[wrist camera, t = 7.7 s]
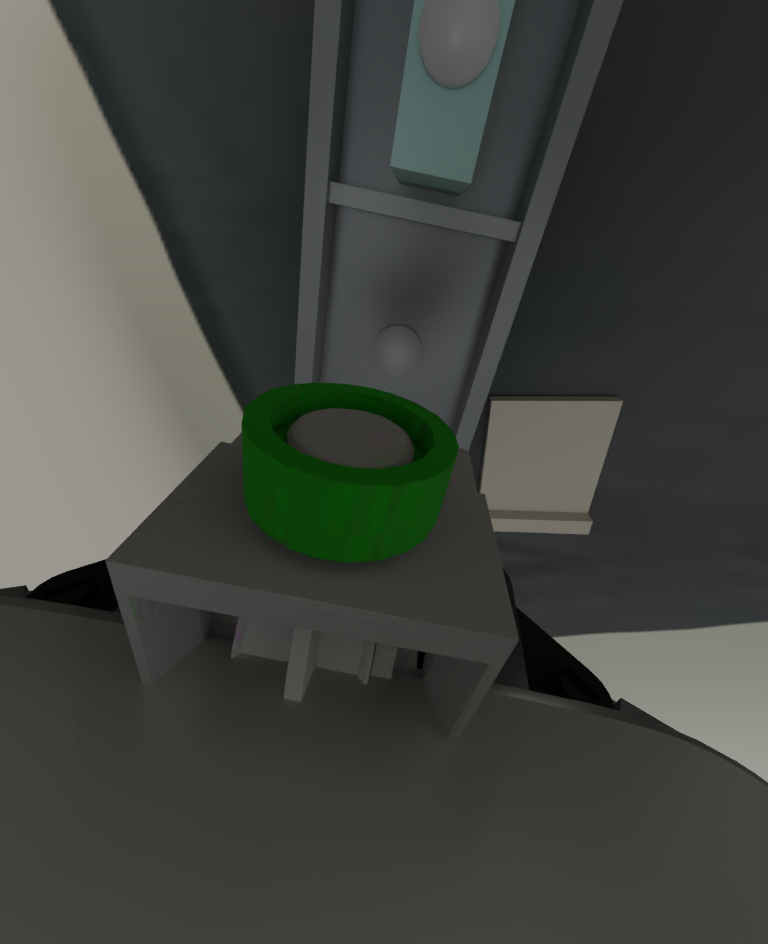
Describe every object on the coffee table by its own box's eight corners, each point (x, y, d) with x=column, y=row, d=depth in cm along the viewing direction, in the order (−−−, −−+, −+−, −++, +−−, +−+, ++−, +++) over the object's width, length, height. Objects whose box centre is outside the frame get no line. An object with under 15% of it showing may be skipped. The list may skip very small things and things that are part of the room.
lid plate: (489, 396, 25) (494, 406, 24) (617, 396, 25) (630, 407, 23) (475, 515, 31) (478, 530, 29) (580, 518, 30) (588, 534, 28)
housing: (345, -121, 15) (285, -388, 8) (620, -58, 15) (764, -271, 9) (305, 427, 28) (269, 486, 21) (453, 457, 28) (462, 525, 22)
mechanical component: (319, 546, 16) (199, 903, 7) (351, 273, 10) (38, 450, 2) (389, 560, 16) (351, 930, 7) (458, 296, 10) (603, 559, 2)
